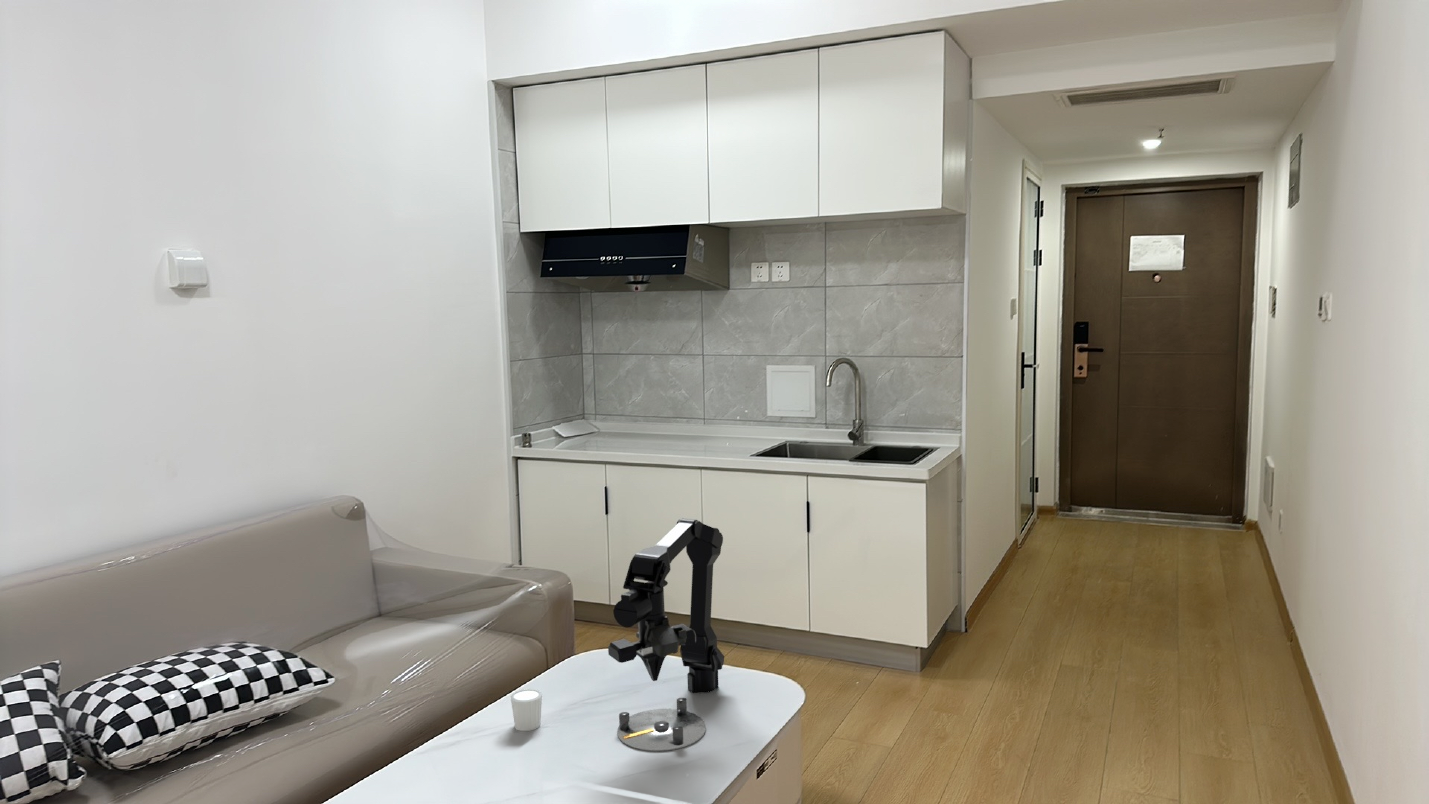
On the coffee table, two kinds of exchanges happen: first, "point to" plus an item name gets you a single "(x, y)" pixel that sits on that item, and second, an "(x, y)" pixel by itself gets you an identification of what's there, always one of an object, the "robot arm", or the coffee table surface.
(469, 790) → the coffee table surface
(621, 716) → the capstan dial
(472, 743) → the coffee table surface
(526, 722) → the shot glass
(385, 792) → the coffee table surface
